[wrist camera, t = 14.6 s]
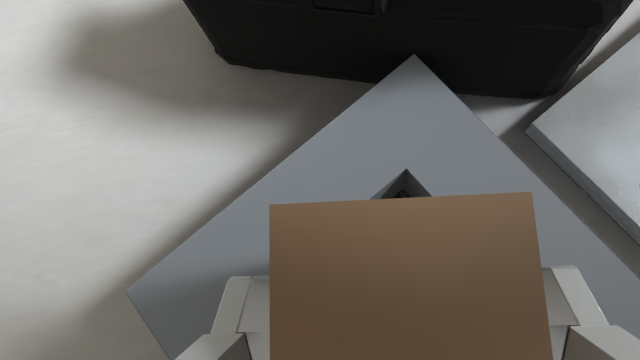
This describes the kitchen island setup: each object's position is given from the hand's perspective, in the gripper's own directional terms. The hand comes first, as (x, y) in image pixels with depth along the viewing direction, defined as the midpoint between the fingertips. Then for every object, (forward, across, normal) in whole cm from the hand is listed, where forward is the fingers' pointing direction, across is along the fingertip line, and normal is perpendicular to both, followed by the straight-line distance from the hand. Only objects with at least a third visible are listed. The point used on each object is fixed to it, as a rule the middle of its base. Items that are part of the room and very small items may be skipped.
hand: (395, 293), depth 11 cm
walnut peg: (+3, 0, +4) cm, 5 cm away
